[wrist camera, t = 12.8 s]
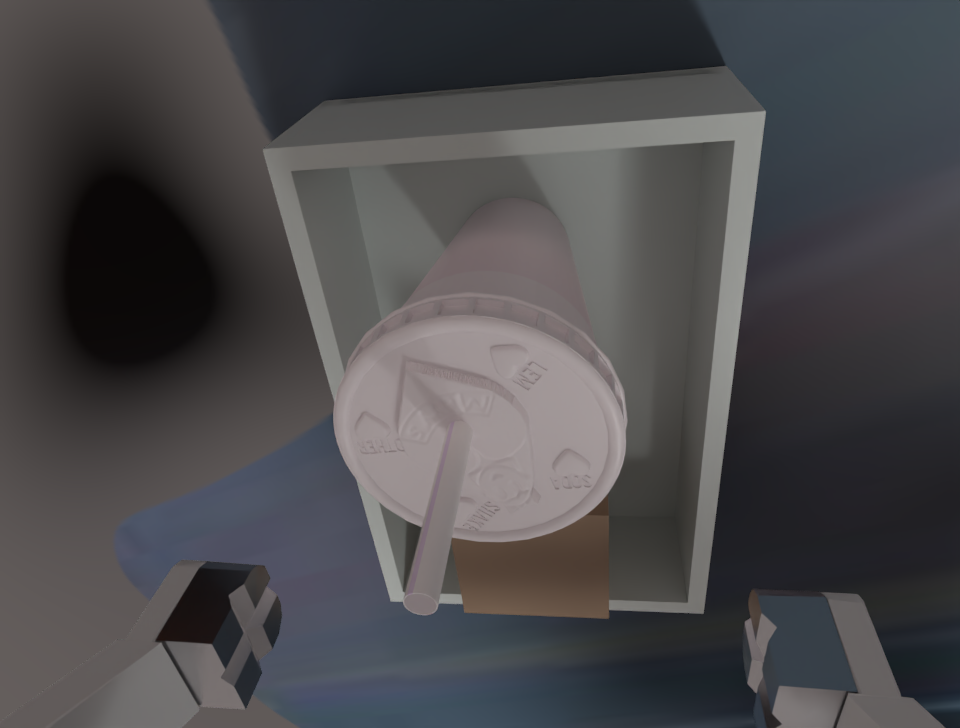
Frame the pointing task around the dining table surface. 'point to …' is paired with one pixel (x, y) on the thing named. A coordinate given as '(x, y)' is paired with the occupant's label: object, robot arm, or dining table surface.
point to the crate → (597, 255)
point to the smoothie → (485, 396)
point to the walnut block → (540, 571)
